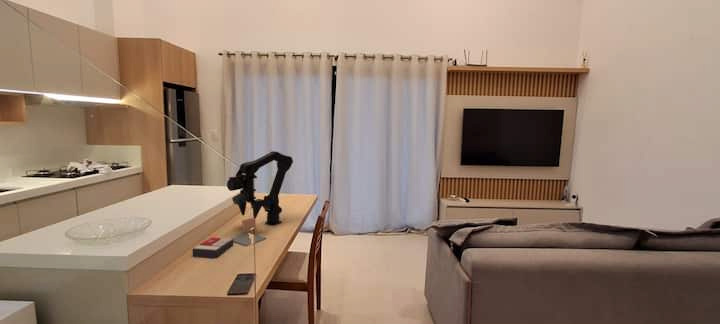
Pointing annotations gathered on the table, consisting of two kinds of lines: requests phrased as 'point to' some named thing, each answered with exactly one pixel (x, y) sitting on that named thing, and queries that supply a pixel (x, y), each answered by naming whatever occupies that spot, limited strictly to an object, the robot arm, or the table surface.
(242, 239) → the mat
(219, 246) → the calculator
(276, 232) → the table surface
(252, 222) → the block
